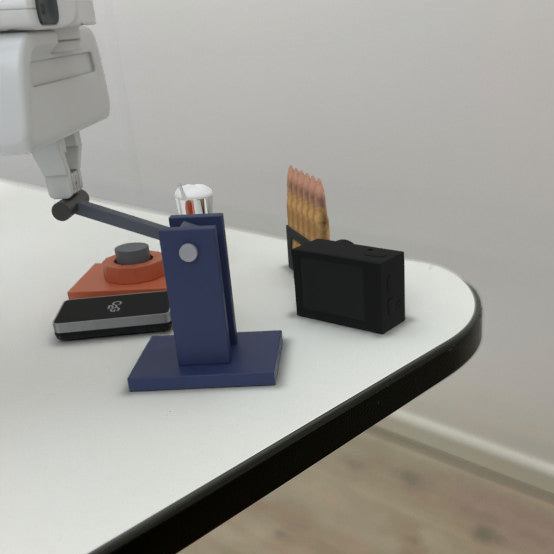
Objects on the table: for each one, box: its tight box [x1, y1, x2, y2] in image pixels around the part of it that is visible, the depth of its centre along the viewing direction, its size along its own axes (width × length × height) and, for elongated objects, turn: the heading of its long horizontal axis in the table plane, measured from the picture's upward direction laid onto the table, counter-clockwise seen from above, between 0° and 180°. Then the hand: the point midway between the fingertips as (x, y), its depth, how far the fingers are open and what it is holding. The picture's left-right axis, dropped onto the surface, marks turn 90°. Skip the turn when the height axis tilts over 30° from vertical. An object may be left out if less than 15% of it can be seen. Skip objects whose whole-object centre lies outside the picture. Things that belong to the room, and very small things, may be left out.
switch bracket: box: [126, 212, 284, 392], centre depth 64 cm, size 12×9×13 cm
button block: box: [66, 249, 167, 300], centre depth 84 cm, size 12×10×4 cm
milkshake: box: [174, 182, 214, 215], centre depth 94 cm, size 4×5×10 cm
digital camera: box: [292, 238, 406, 335], centre depth 75 cm, size 10×5×7 cm, turn 56°
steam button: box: [114, 241, 151, 265], centre depth 83 cm, size 4×4×2 cm
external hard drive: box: [52, 291, 173, 341], centre depth 76 cm, size 7×11×2 cm, turn 100°
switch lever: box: [50, 188, 198, 241], centre depth 62 cm, size 12×5×2 cm, turn 91°
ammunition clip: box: [285, 165, 331, 271], centre depth 85 cm, size 11×2×12 cm, turn 24°
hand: (67, 195), depth 60 cm, fingers closed, pressing on switch lever
